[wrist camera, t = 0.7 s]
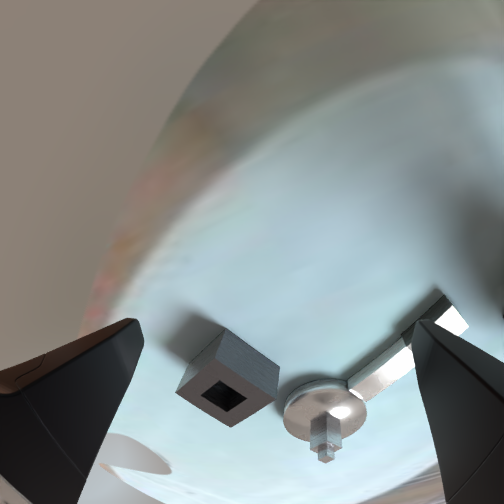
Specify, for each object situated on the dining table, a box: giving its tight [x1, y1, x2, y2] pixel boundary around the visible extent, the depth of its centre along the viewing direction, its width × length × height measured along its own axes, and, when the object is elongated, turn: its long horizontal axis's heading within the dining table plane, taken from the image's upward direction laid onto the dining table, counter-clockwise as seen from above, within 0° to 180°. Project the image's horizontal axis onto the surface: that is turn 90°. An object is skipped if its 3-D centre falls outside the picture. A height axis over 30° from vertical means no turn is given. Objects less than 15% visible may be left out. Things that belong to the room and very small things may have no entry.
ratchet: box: [283, 295, 469, 463], centre depth 22 cm, size 8×20×6 cm, turn 140°
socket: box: [175, 328, 280, 427], centre depth 25 cm, size 6×6×4 cm
